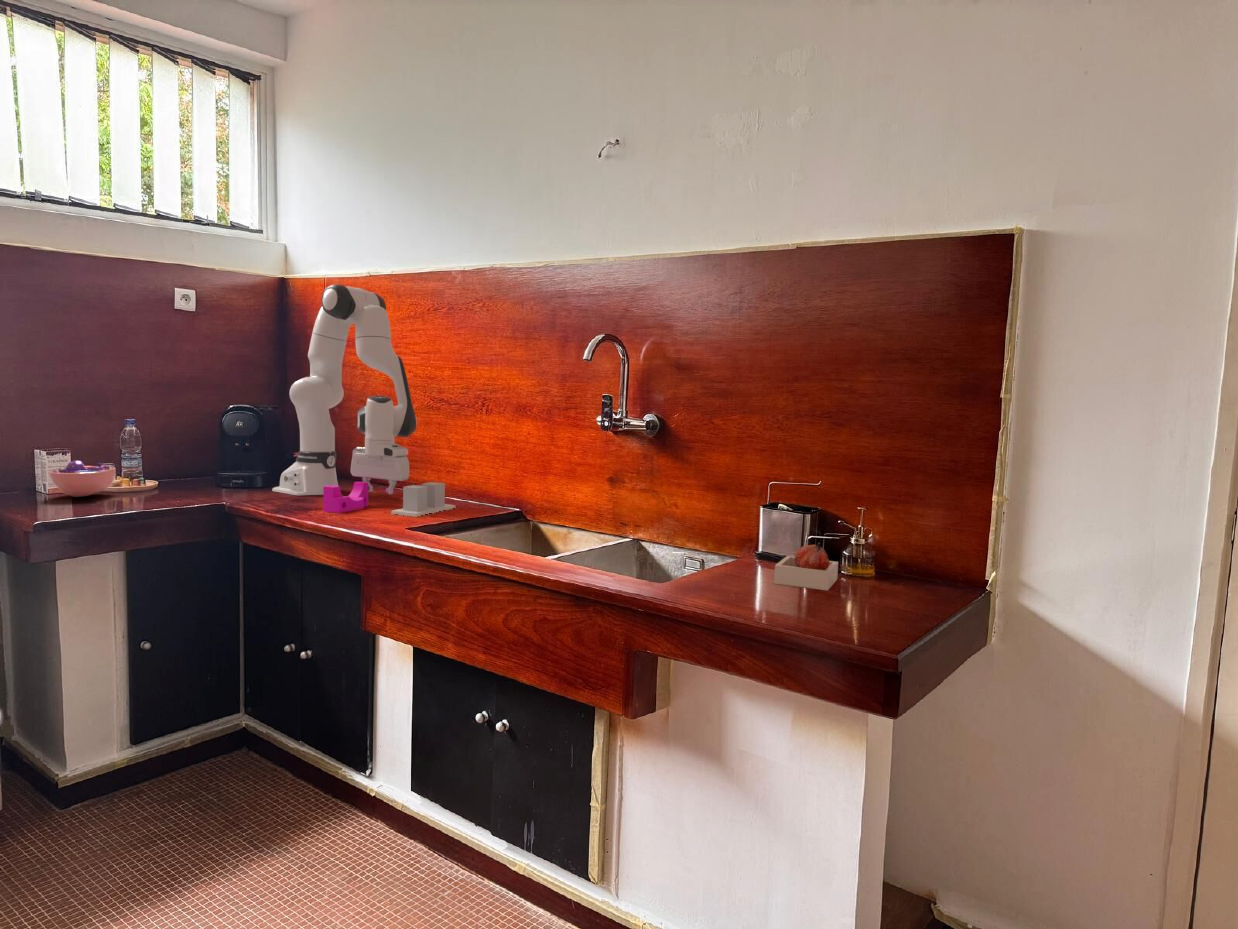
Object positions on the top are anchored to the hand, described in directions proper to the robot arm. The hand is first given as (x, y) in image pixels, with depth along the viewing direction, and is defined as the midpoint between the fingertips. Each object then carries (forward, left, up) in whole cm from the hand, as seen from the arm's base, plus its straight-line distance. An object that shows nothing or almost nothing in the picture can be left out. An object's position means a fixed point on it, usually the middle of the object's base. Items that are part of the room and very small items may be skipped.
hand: (379, 492), depth 271 cm
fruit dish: (+139, -28, -4) cm, 142 cm away
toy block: (-4, -9, -4) cm, 11 cm away
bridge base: (+17, 0, -4) cm, 17 cm away
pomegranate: (+139, -28, -4) cm, 142 cm away
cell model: (-84, -37, -4) cm, 92 cm away
